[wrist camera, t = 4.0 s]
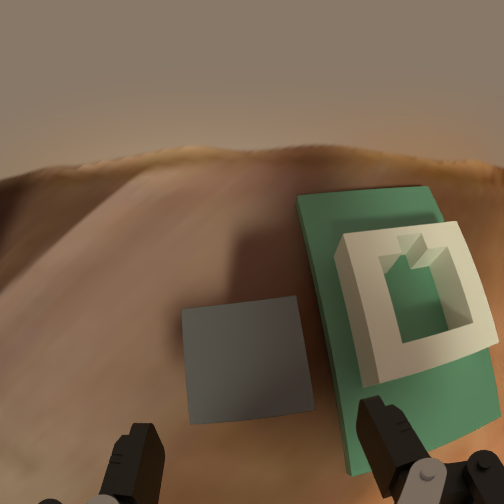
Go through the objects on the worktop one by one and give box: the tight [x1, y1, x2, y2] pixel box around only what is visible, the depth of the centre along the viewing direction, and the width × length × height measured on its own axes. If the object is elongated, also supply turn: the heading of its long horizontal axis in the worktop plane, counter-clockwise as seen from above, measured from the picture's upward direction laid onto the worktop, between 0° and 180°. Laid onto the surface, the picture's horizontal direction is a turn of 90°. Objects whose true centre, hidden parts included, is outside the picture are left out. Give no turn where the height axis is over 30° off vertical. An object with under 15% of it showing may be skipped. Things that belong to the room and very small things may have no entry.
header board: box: [296, 186, 501, 477], centre depth 19 cm, size 12×20×4 cm, turn 7°
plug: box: [181, 295, 316, 424], centre depth 15 cm, size 4×5×10 cm
